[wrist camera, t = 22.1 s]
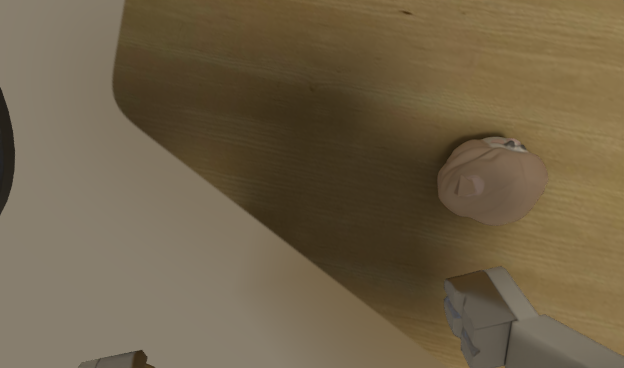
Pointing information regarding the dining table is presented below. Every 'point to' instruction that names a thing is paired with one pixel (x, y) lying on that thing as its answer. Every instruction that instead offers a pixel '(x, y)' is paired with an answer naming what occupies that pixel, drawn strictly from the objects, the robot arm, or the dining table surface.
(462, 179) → the garlic bulb
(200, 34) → the dining table surface
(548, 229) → the dining table surface
